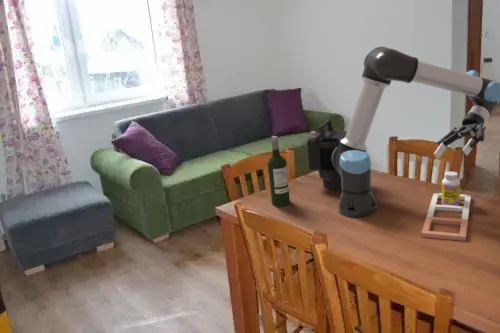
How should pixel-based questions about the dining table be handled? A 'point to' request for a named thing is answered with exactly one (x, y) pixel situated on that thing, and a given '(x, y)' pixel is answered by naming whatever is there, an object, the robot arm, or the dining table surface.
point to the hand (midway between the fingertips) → (450, 154)
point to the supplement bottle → (451, 189)
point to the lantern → (325, 154)
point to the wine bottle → (278, 176)
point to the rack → (462, 222)
